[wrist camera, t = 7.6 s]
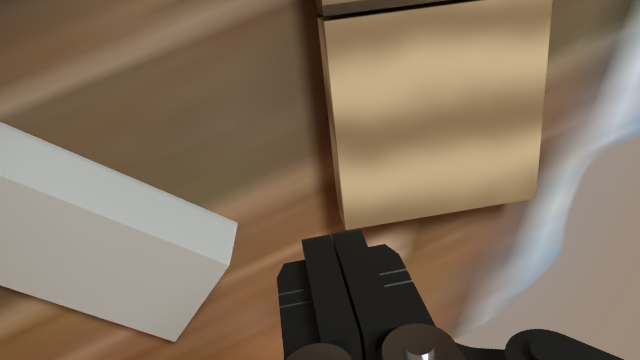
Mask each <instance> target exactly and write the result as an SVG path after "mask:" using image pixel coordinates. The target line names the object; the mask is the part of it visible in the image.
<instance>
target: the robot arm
mask: <svg viewBox="0 0 640 360" xmlns="http://www.w3.org/2000/svg"><path fill="white" fill-rule="evenodd" d="M332 243H333V244H332ZM302 246H303V252H304V257H305V260H300V261H295V262H290V263H285V264H284V265H283V267H282V269H281V271H280V273H279V275H278V277H277V285H278V294H279V306H280V317H281V328H282V338H283V349H284V360H624V359H621V358H619V357H616V356H614V355H611V354H609V353H607V352H604V351H602V350H599V349H597V348H595V347H592V346H590V345H587V344H585V343H582V342H580V341H577V340H575V339H573V338H570V337H568V336H566V335H563V334H560V333H558V332H554V331H550V330H544V329H531V330H525V331H522V332H519V333H517V334H515V335H514V336H512V337H511V338H510V339H509V341H508V343H507V344H506V348H505V350H500V349H483V348H472V347H468V346H464V345H461V344H458V343H456V342H454V340H453V339H452V338H451V336H450V335H448V334H447V333H446V332H445V331H443V330H442V329H440V328H437V327H436V326H435V324H434V322H433V320H432V318H431V316H430V314H429V312H428V310H427V308H426V306H425V304H424V303H423V301H422V299H421V297H420V295H419V293H418V291H417V289H416V287H415V285H414V283H413V282H412V279H411V277H410V275H409V273H408V271H406V267H405V265H404V263H403V261H402V259H401V257H400V256H399V254H398V253H396V252H395V251H394V250H392V249H391V248H389V247H388V246H387V245H385V244H382V245H377V246H372V247H368V246H367V243H366V241H365V238H364V236H363V234H362V231H361V229H355V230H350V231H345V232H339V233H334V234H332V240H331V237H330V235H324V236H319V237H314V238H308V239H303V240H302Z"/></svg>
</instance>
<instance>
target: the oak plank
mask: <svg viewBox="0 0 640 360" xmlns="http://www.w3.org/2000/svg"><path fill="white" fill-rule="evenodd" d="M551 11H552V0H444V1H437V2H429V3H422V4H414V5H407V6H399V7H391V8H384V9H376V10H369V11H361V12H354V13H346V14H339V15H331V16H323V17H317V19H318V29H319V38H320V47H321V56H322V65H323V75H324V84H325V93H326V102H327V111H328V121H329V130H330V139H331V148H332V157H333V167H334V176H335V185H336V194H337V203H338V211H339V214H340V217H341V219H342V222H343V225H344V227H345V230H351V229H357V228H363V227H368V226H374V225H380V224H386V223H392V222H398V221H404V220H410V219H416V218H422V217H428V216H434V215H439V214H445V213H451V212H457V211H463V210H469V209H475V208H481V207H487V206H493V205H499V204H505V203H510V202H516V201H522V200H528V199H534V198H536V189H537V177H538V165H539V153H540V142H541V130H542V118H543V106H544V94H545V82H546V71H547V59H548V47H549V35H550V23H551Z"/></svg>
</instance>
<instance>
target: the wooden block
mask: <svg viewBox="0 0 640 360" xmlns="http://www.w3.org/2000/svg"><path fill="white" fill-rule="evenodd" d="M315 1H316V10H317V13H319V14H320V15H322V16H331V15H339V14H346V13H354V12H361V11H369V10H376V9H384V8H391V7H399V6H407V5H414V4H422V3H429V2H437V1H444V0H315Z"/></svg>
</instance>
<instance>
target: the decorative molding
mask: <svg viewBox="0 0 640 360" xmlns="http://www.w3.org/2000/svg"><path fill="white" fill-rule="evenodd" d="M237 224H238V223H237V222H234V221H232V220H230V219H227V218H225V217H223V216H220V215H218V214H216V213H213V212H211V211H209V210H206V209H204V208H202V207H199V206H197V205H195V204H192V203H190V202H188V201H185V200H183V199H181V198H178V197H176V196H173V195H171V194H169V193H166V192H164V191H162V190H159V189H157V188H155V187H152V186H150V185H148V184H145V183H143V182H141V181H138V180H136V179H134V178H131V177H129V176H126V175H124V174H122V173H119V172H117V171H115V170H112V169H110V168H107V167H105V166H103V165H100V164H98V163H96V162H93V161H91V160H89V159H86V158H84V157H82V156H79V155H77V154H75V153H72V152H70V151H67V150H65V149H63V148H60V147H58V146H56V145H53V144H51V143H49V142H46V141H44V140H42V139H39V138H37V137H35V136H32V135H30V134H28V133H25V132H23V131H20V130H18V129H16V128H13V127H11V126H9V125H6V124H4V123H2V122H0V285H1V286H4V287H7V288H10V289H13V290H16V291H19V292H22V293H25V294H28V295H32V296H35V297H38V298H41V299H44V300H47V301H50V302H53V303H56V304H59V305H62V306H65V307H69V308H72V309H75V310H78V311H81V312H84V313H87V314H90V315H93V316H96V317H99V318H102V319H105V320H109V321H112V322H115V323H118V324H121V325H124V326H127V327H130V328H133V329H136V330H139V331H142V332H146V333H149V334H152V335H155V336H158V337H161V338H164V339H167V340H170V341H173V342H175V341H176V340H177V339H178V337H179V336H180V334H181V333H182V331H183V330H184V329H185V327H186V326H187V324H188V323H189V322H190V320H191V319H192V317H193V316H194V315H195V313H196V312H197V310H198V309H199V307H200V306H201V305H202V303H203V302H204V300H205V299H206V298H207V296H208V295H209V293H210V292H211V291H212V289H213V288H214V286H215V285H216V283H217V282H218V281H219V279H220V278H221V276H222V275H223V274H224V272H225V271H226V269H227V268H228V267H229V264H230V260H231V255H232V250H233V245H234V240H235V235H236V230H237Z"/></svg>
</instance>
